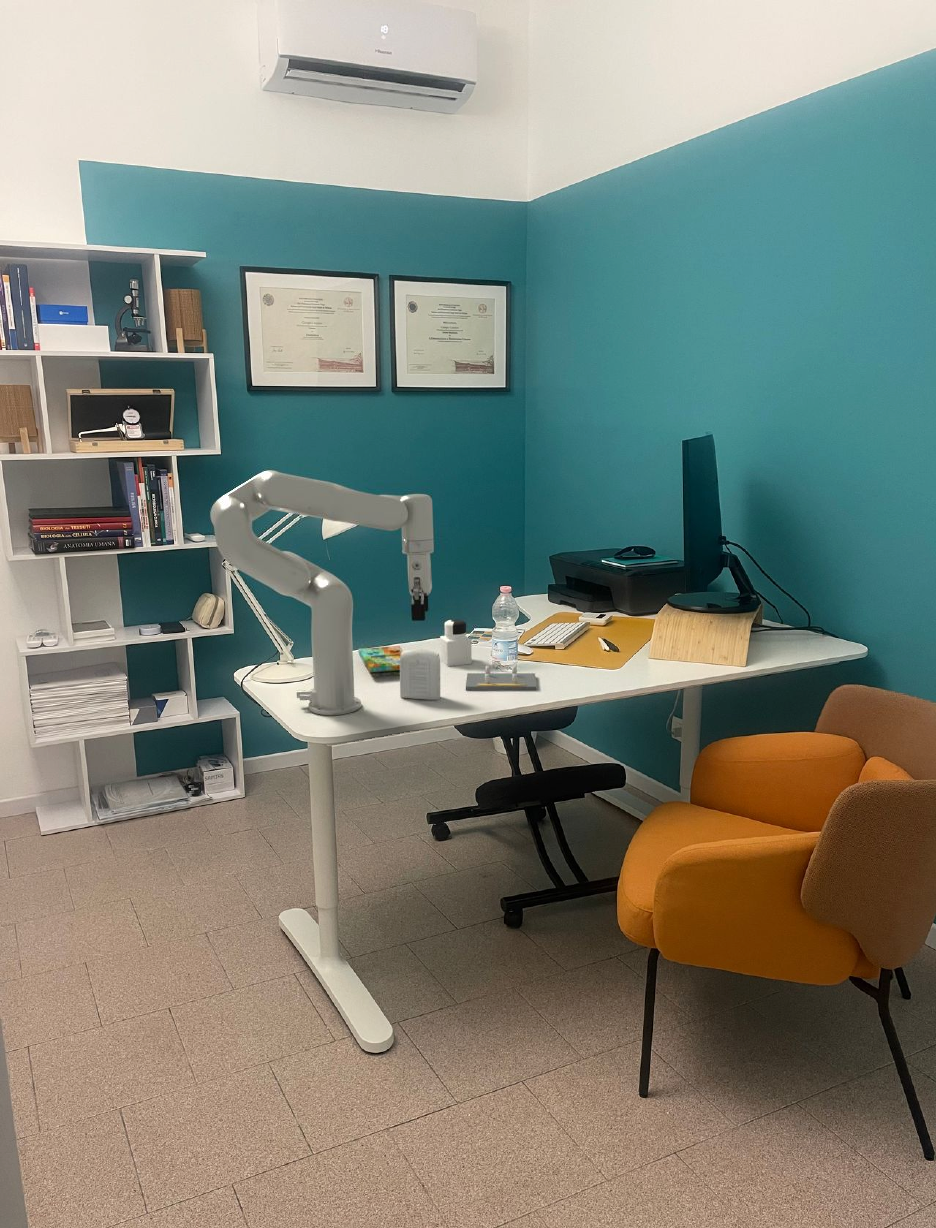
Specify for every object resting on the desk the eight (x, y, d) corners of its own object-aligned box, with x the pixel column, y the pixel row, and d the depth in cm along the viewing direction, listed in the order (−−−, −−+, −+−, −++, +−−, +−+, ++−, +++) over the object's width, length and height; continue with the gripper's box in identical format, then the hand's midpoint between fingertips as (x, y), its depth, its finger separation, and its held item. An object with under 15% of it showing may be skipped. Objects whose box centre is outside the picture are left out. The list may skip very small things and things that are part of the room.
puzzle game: (398, 642, 269) (413, 660, 251) (399, 658, 270) (413, 677, 252) (358, 645, 266) (369, 664, 248) (358, 661, 267) (370, 681, 249)
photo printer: (442, 696, 235) (441, 648, 232) (438, 701, 231) (437, 652, 228) (402, 693, 237) (401, 646, 234) (398, 699, 233) (396, 650, 230)
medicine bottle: (463, 657, 270) (463, 617, 267) (471, 664, 263) (471, 622, 260) (440, 660, 267) (439, 619, 265) (447, 666, 261) (446, 624, 258)
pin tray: (465, 690, 239) (465, 677, 238) (467, 676, 251) (467, 664, 250) (536, 690, 238) (536, 677, 238) (534, 676, 250) (535, 664, 249)
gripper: (430, 551, 217) (433, 623, 221) (436, 540, 234) (438, 607, 238) (398, 552, 217) (401, 624, 221) (405, 541, 234) (408, 608, 238)
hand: (420, 615), depth 229 cm, fingers open, 9 cm apart
